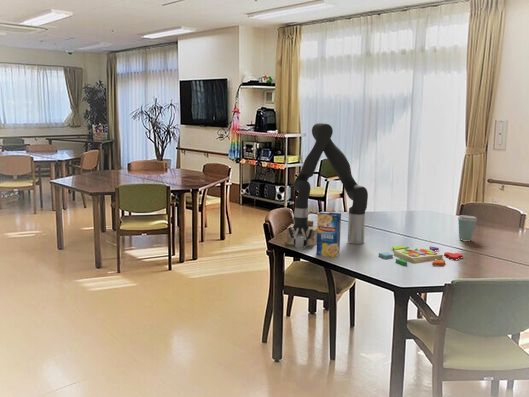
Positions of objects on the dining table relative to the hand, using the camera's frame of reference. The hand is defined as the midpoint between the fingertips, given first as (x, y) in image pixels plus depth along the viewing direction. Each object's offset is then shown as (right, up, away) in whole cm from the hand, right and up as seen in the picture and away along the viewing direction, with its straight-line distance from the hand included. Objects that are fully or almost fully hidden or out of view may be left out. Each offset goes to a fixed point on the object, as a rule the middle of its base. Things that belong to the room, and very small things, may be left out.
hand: (300, 245), depth 276 cm
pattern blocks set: (+61, -5, -15) cm, 63 cm away
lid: (+2, +9, +8) cm, 12 cm away
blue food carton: (+14, -4, -13) cm, 19 cm away
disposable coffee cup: (+100, +1, +20) cm, 102 cm away
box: (+2, +1, +10) cm, 10 cm away
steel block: (0, -1, 0) cm, 1 cm away
